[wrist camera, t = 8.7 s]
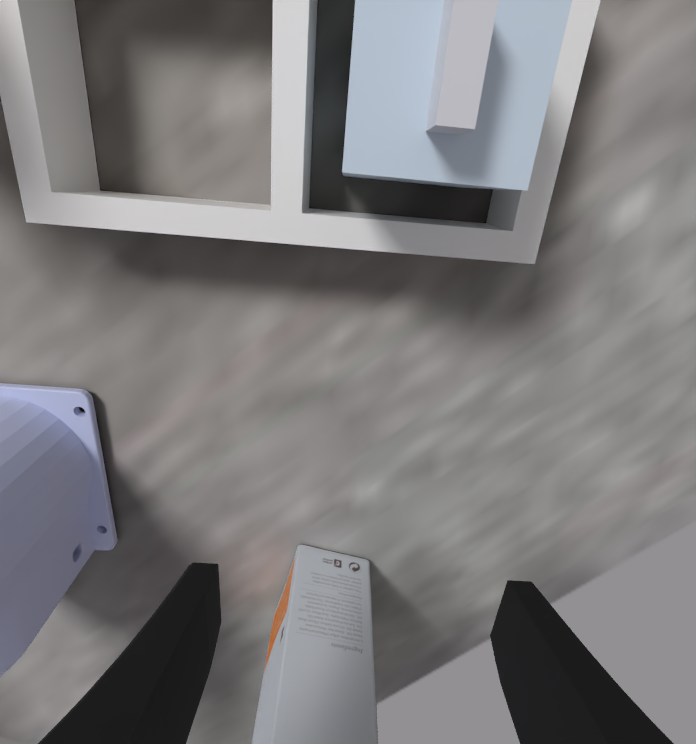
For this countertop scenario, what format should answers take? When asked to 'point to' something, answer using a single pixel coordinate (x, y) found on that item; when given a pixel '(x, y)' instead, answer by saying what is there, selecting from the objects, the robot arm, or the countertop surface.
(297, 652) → the skincare box
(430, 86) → the plug
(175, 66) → the countertop surface
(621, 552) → the countertop surface
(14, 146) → the white divided frame
